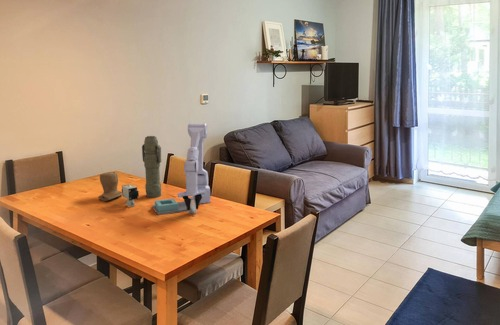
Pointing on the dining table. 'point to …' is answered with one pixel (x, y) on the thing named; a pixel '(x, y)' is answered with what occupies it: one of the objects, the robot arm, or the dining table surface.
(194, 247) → the dining table surface
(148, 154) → the stone statue
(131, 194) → the pneumatic valve
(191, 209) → the pin
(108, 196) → the brown upright piece
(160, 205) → the block
